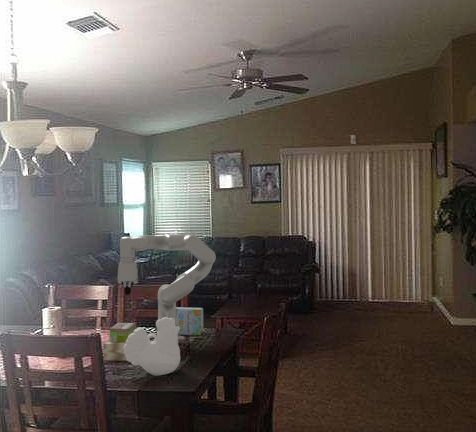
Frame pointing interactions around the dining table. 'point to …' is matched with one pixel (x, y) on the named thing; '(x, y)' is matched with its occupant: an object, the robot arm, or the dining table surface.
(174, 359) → the decorative rooster
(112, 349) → the maple board
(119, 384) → the dining table surface
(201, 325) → the snack box
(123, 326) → the tea box
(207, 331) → the dining table surface
